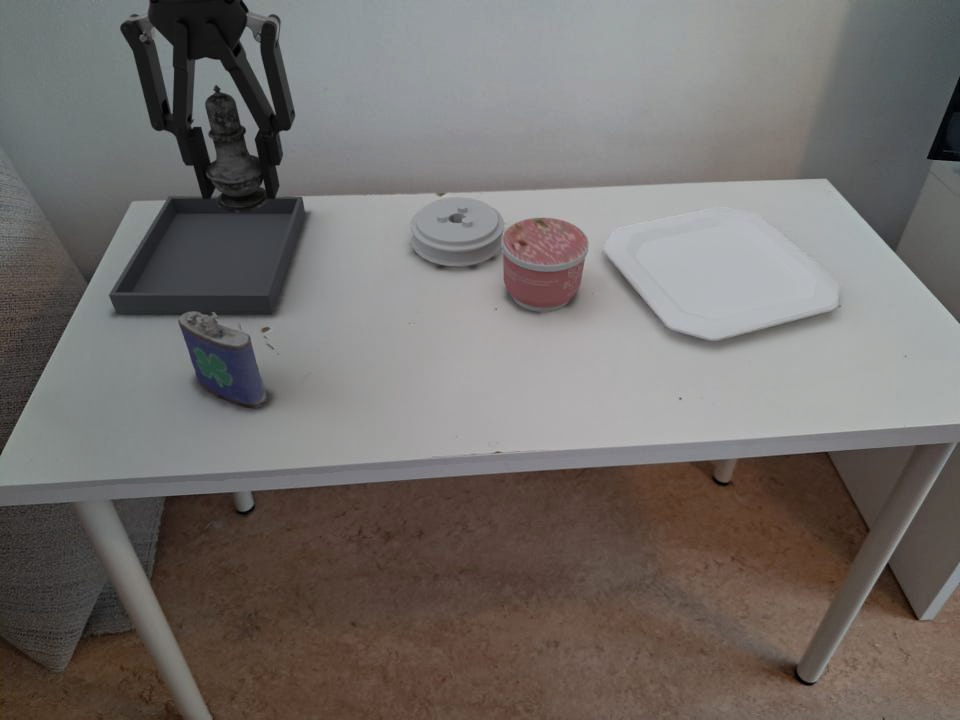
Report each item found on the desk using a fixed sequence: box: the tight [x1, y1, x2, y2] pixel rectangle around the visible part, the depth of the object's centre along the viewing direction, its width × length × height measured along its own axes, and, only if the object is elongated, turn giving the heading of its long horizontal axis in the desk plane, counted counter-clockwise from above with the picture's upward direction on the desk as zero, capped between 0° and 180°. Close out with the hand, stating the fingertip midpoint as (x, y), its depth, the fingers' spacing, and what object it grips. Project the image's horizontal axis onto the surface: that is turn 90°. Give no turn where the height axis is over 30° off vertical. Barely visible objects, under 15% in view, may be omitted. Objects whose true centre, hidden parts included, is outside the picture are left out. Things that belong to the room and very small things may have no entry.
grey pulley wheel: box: [410, 196, 505, 267], centre depth 99 cm, size 13×13×5 cm
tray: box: [108, 195, 306, 315], centre depth 97 cm, size 23×19×3 cm
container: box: [501, 217, 590, 313], centre depth 90 cm, size 10×10×8 cm
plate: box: [602, 205, 842, 342], centre depth 95 cm, size 25×25×2 cm
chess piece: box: [204, 84, 268, 212], centre depth 72 cm, size 6×6×12 cm
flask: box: [177, 311, 268, 409], centre depth 76 cm, size 9×3×11 cm, turn 61°
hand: (241, 191), depth 75 cm, fingers closed on chess piece, 6 cm apart
